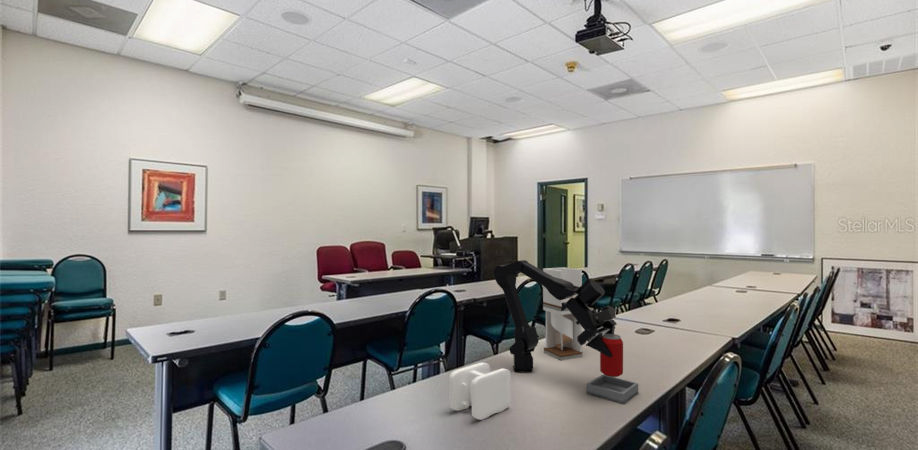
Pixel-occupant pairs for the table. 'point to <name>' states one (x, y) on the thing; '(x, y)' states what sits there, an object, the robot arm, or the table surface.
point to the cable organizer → (479, 390)
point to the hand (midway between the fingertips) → (615, 354)
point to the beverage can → (614, 363)
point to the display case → (561, 319)
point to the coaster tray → (612, 389)
